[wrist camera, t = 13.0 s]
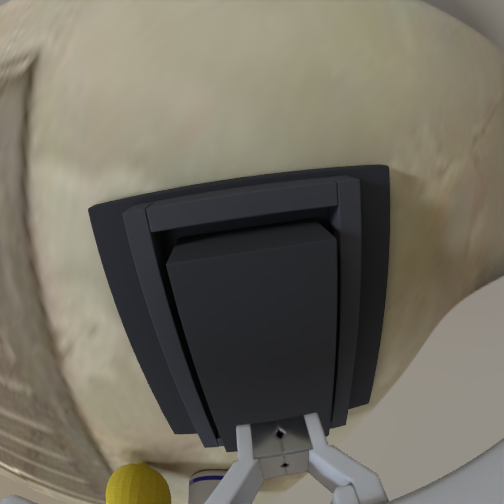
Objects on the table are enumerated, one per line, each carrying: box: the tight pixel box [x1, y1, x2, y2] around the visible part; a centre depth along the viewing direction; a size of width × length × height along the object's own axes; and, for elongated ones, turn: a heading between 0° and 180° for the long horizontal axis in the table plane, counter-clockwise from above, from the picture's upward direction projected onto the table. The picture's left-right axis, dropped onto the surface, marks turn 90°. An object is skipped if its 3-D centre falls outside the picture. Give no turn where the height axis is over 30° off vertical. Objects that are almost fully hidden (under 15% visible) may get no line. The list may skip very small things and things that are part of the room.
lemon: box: [106, 462, 171, 504], centre depth 16 cm, size 6×6×8 cm
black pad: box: [166, 218, 337, 452], centre depth 14 cm, size 12×6×3 cm, turn 7°
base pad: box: [88, 165, 390, 448], centre depth 15 cm, size 16×14×2 cm
